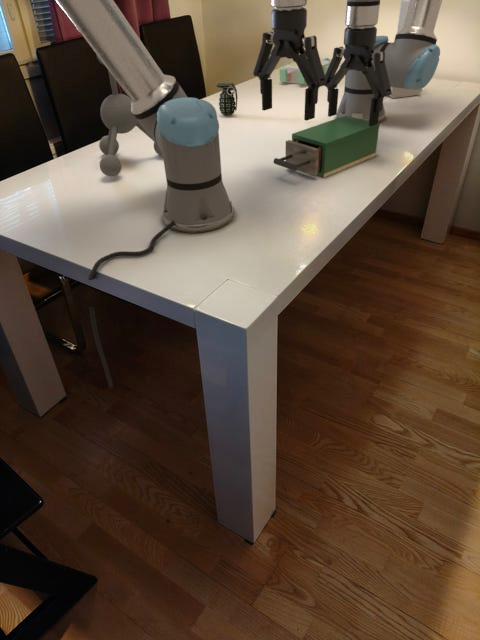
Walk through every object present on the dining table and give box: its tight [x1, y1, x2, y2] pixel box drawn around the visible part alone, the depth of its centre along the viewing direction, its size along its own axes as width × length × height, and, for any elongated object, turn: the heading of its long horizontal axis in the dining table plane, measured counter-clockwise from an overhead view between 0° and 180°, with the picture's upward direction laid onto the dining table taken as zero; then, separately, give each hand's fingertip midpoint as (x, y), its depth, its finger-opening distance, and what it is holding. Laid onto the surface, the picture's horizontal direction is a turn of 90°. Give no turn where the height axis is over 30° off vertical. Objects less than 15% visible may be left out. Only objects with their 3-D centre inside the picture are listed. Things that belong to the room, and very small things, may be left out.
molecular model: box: [95, 53, 163, 178], centre depth 128 cm, size 24×22×30 cm
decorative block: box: [279, 57, 332, 85], centre depth 205 cm, size 26×6×20 cm
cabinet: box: [291, 116, 380, 178], centre depth 128 cm, size 21×12×8 cm, turn 131°
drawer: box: [272, 139, 323, 177], centre depth 125 cm, size 25×10×6 cm, turn 131°
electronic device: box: [388, 0, 423, 99], centre depth 171 cm, size 12×8×30 cm, turn 105°
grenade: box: [215, 82, 238, 117], centre depth 166 cm, size 7×6×10 cm
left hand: (287, 114), depth 115 cm, fingers open, 13 cm apart
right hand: (352, 120), depth 128 cm, fingers open, 13 cm apart
